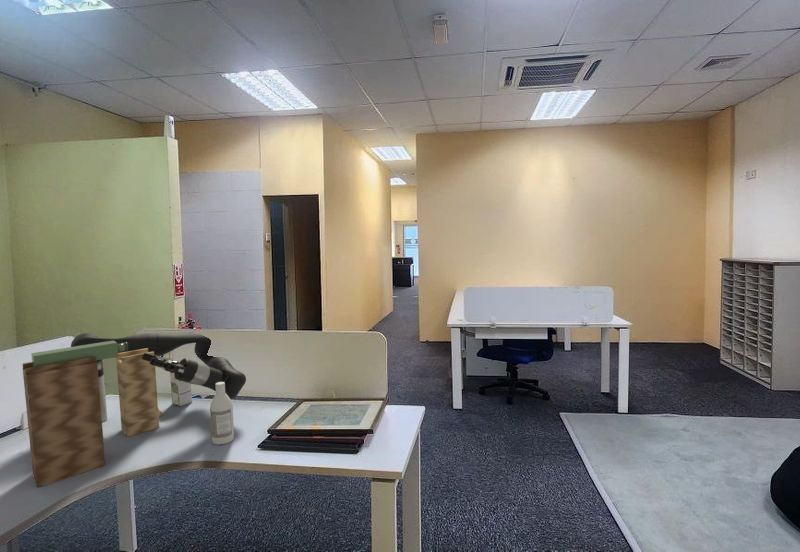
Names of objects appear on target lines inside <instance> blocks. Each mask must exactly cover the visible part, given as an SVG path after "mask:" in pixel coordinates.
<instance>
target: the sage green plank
mask: <svg viewBox="0 0 800 552" xmlns="http://www.w3.org/2000/svg"><path fill="white" fill-rule="evenodd" d="M123 351H128V343H127V342H124V343H121V344H117V342H115V341H114V340H113V341H107V342H100V343H94V344H88V345H81V346H75V347H71V346H70V347H62V348H57V349H50V350H43V351H38V352H31V353H30V354H31V362H32V365H33V367H37V366H43V365H48V364H54V363H60V362H66V361H71V360H77V359H83V358H89V357H94V356H95V357H96V361H97V360H102V361H103V360H107V359H114V358H116V357H118V352H123ZM113 357H114V358H113Z"/></svg>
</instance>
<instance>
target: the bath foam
mask: <svg viewBox="0 0 800 552" xmlns="http://www.w3.org/2000/svg"><path fill="white" fill-rule="evenodd" d="M215 386H216V391H215V394H214V397H213V398H212V400H211V402H210V408H209V411H210V412H209V413H210V414H209V415H210V429H211V430H210V432H211V442H212V444H214V445H218V446H219V445H221V444H222V445H226V444H229V443H231V442H232V441H233V440H234V439H235V433H234V432H235V427H234V408H233V403H232V402H233V401H232V399H230V398H229V397H228V395H227V394H226V393H225V383H224V382H218V383H216V384H215Z"/></svg>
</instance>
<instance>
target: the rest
mask: <svg viewBox="0 0 800 552" xmlns="http://www.w3.org/2000/svg"><path fill="white" fill-rule="evenodd" d="M144 353H147V354H151V355H154V352H148V348H145V349H140V350H134V351H128V352H122V353H118V357H115V358H116V361H115V362H116V371H117V373H116V374H117V388H118V397H119V398H118V400H119V411H120V414H119V415H120V426H121V431H122V432H123V434H125V435H126V436H127V437H130V436H131V437H132V436H135V435H139V434H142V433H145V432H148V431H152V430H155V429H159V428H160V419H159V418H160V417H159V416H158V409H159V403H158V402H159V401H158V388H157V387H158V386H157V374H156V373H157V372H156V366H154V365H151V364H150V362H149V361H146V360H143V359H142V356H143V354H144Z"/></svg>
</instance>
